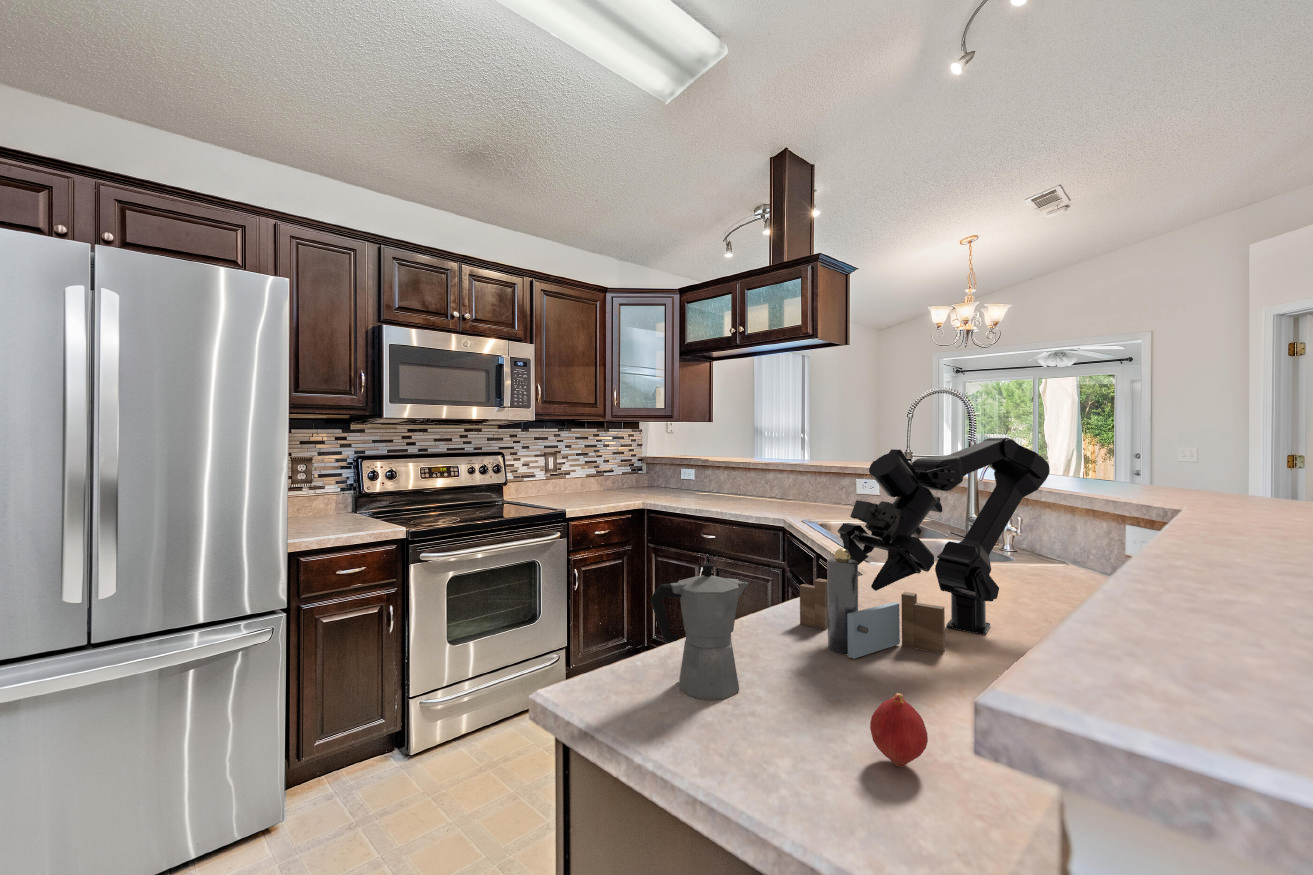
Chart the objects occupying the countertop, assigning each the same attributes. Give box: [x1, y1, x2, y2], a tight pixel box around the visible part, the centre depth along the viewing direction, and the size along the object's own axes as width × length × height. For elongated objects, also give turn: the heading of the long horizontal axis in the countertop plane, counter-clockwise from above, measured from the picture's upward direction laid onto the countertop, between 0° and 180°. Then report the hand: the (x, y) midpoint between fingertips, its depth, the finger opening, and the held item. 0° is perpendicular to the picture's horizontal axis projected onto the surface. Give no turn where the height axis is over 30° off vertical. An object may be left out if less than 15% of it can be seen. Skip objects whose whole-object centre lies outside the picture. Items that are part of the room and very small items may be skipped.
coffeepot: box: [650, 562, 750, 701], centre depth 82 cm, size 15×9×18 cm, turn 110°
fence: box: [799, 578, 946, 655], centre depth 102 cm, size 2×25×9 cm, turn 52°
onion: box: [869, 692, 929, 768], centre depth 62 cm, size 6×6×8 cm
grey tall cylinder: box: [826, 547, 859, 656], centre depth 96 cm, size 5×5×17 cm
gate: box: [847, 601, 901, 660], centre depth 94 cm, size 12×3×7 cm, turn 122°
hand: (855, 582), depth 97 cm, fingers open, 9 cm apart
